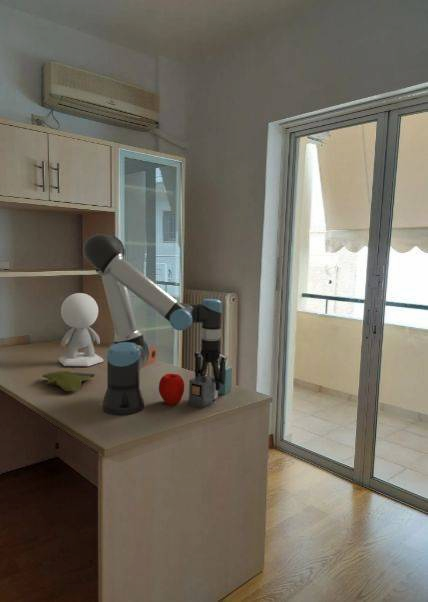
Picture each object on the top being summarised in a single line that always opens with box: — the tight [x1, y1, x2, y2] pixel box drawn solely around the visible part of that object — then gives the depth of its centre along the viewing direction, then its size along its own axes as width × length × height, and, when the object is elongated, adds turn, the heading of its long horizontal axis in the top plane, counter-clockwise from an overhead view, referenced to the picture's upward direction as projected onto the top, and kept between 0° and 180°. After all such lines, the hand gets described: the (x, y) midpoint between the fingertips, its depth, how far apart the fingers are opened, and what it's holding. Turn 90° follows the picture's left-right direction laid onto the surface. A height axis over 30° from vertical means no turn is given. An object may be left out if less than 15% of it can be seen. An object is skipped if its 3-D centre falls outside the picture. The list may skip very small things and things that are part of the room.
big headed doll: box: [57, 292, 105, 367], centre depth 227 cm, size 20×23×35 cm
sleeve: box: [188, 376, 214, 409], centre depth 170 cm, size 7×6×10 cm
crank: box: [142, 345, 158, 368], centre depth 228 cm, size 20×8×8 cm, turn 159°
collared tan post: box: [192, 375, 215, 395], centre depth 173 cm, size 16×5×5 cm, turn 151°
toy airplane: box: [41, 370, 95, 392], centre depth 192 cm, size 28×22×5 cm
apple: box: [158, 373, 185, 406], centre depth 170 cm, size 10×10×12 cm
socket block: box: [212, 364, 233, 396], centre depth 185 cm, size 6×6×11 cm
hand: (209, 396), depth 176 cm, fingers closed on collared tan post, 5 cm apart
